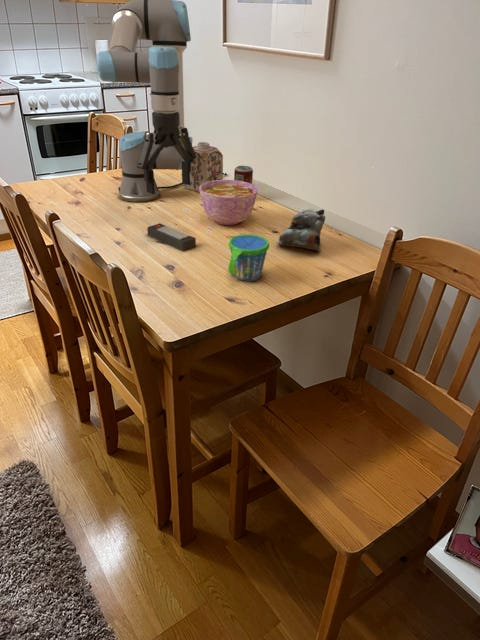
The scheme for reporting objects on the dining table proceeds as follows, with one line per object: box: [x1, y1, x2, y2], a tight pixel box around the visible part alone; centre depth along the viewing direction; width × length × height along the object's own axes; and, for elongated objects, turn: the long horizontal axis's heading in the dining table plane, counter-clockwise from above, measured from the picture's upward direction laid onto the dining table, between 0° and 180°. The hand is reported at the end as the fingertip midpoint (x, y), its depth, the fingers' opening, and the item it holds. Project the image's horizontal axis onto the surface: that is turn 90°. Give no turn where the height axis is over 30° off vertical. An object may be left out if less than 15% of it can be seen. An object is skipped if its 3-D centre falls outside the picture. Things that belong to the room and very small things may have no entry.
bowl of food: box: [199, 179, 259, 226], centre depth 167 cm, size 20×20×12 cm
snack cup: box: [227, 234, 270, 282], centre depth 131 cm, size 16×10×10 cm
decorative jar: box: [183, 141, 224, 193], centre depth 196 cm, size 12×12×18 cm
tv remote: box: [146, 222, 197, 252], centre depth 152 cm, size 17×5×3 cm, turn 48°
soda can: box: [233, 165, 254, 184], centre depth 188 cm, size 7×7×12 cm
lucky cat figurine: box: [276, 208, 326, 252], centre depth 150 cm, size 15×12×14 cm
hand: (169, 188), depth 144 cm, fingers open, 13 cm apart
